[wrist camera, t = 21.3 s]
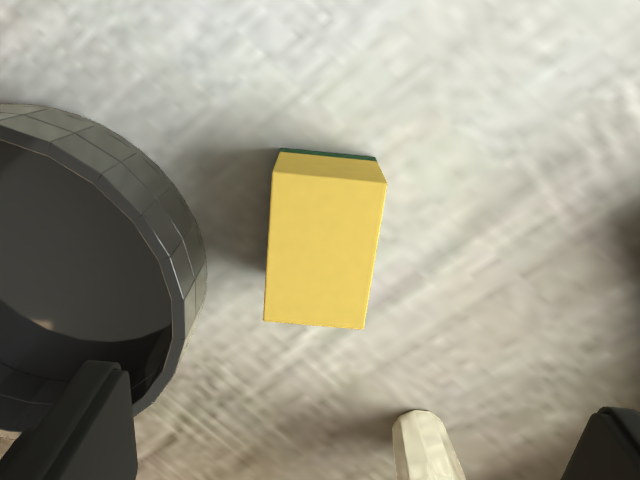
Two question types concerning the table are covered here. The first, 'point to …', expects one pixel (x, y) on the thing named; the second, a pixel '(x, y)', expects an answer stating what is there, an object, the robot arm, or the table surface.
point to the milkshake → (424, 448)
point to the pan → (88, 263)
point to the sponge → (322, 238)
